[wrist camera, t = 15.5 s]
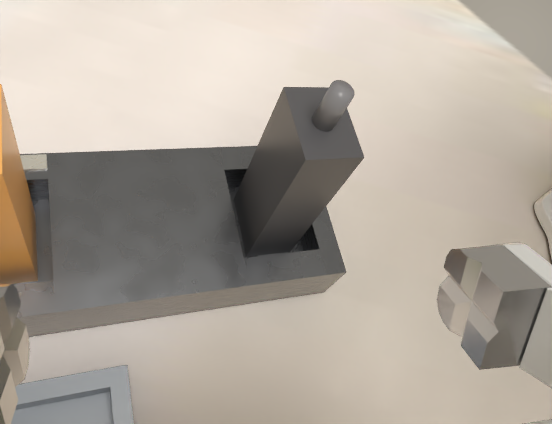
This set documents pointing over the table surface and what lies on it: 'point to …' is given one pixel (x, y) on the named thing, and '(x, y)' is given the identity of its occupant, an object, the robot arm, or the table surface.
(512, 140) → the table surface
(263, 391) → the table surface
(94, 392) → the tray
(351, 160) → the twin plug
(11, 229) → the plug
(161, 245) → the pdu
